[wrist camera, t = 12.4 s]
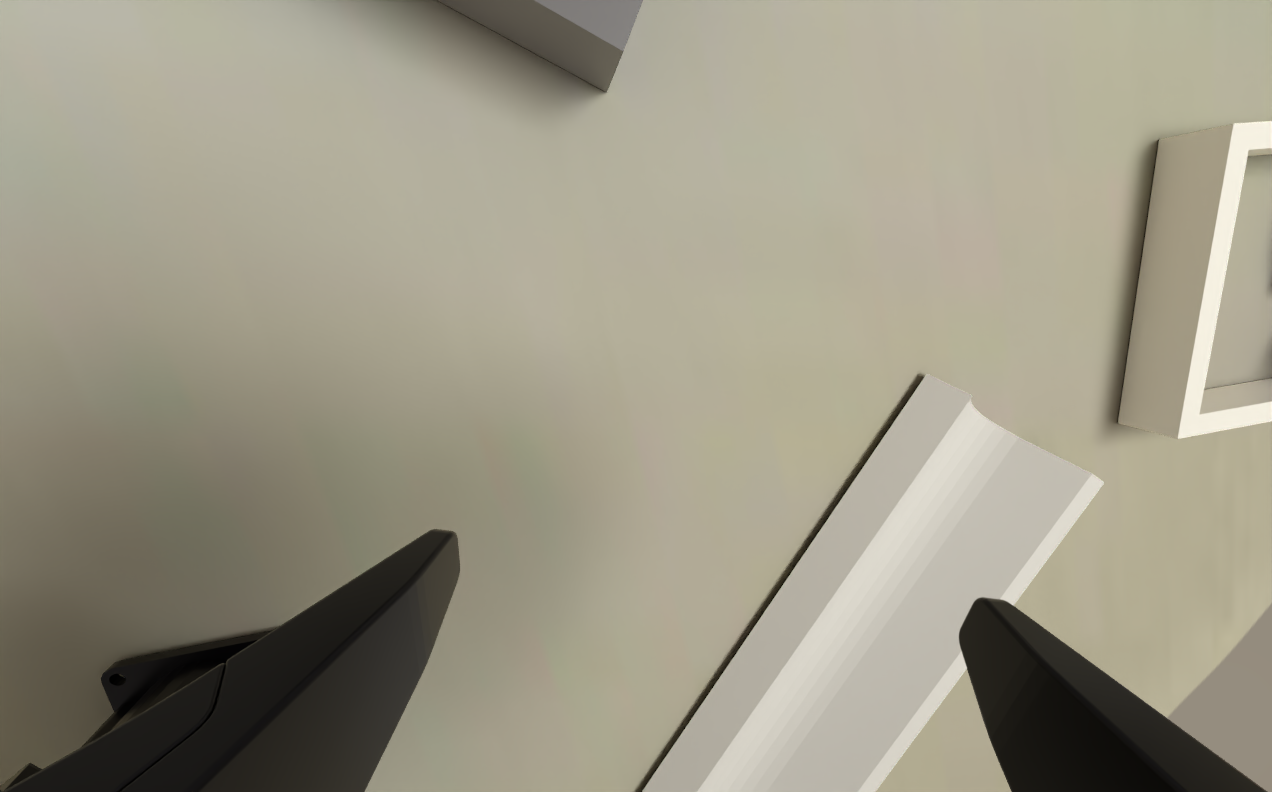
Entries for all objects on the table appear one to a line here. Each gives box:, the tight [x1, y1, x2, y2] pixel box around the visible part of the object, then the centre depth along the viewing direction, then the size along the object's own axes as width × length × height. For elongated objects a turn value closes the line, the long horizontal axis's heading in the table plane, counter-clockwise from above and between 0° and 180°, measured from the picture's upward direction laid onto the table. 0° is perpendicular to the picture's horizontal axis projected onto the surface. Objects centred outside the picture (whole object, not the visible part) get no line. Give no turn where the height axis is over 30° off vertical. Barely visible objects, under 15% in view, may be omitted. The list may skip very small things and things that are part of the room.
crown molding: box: [642, 374, 1104, 792], centre depth 25 cm, size 31×12×4 cm, turn 148°
